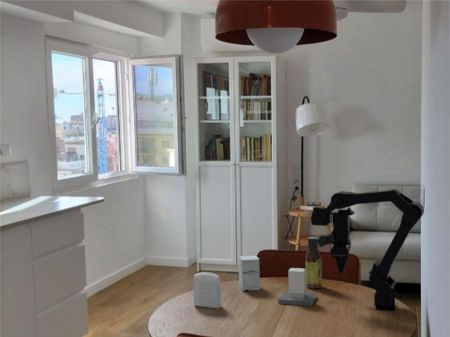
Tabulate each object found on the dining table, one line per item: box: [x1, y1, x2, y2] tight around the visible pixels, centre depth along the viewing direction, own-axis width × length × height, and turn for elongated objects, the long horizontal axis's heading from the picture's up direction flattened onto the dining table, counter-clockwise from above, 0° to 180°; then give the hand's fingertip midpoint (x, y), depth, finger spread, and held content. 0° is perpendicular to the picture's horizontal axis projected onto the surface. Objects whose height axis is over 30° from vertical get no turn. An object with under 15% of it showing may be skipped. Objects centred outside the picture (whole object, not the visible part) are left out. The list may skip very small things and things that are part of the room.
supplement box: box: [238, 255, 261, 292], centre depth 213 cm, size 7×7×13 cm
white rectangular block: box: [287, 267, 307, 299], centre depth 195 cm, size 6×4×10 cm
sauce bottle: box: [305, 236, 323, 290], centre depth 211 cm, size 7×6×20 cm
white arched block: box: [193, 271, 222, 309], centre depth 192 cm, size 10×4×12 cm, turn 67°
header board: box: [278, 291, 317, 307], centre depth 196 cm, size 12×10×3 cm
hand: (341, 269), depth 192 cm, fingers open, 9 cm apart
